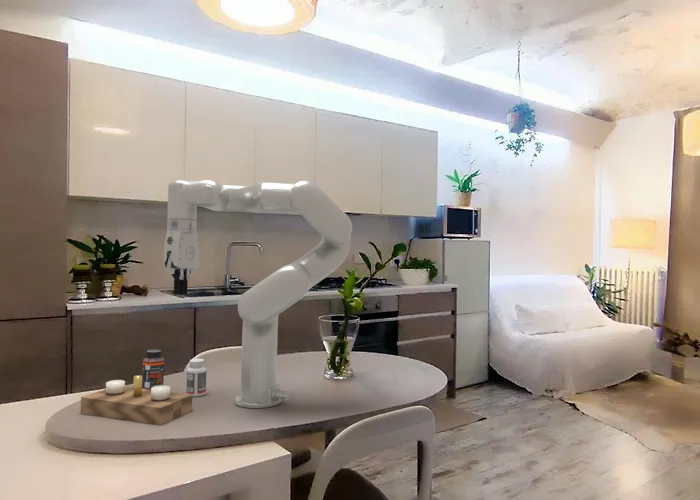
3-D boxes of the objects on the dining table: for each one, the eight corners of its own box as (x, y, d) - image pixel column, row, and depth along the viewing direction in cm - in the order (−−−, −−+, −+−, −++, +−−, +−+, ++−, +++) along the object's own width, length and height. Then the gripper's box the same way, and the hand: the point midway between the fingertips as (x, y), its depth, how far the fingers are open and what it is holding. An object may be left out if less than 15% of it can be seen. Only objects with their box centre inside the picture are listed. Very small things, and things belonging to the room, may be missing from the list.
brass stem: (143, 395, 129) (143, 375, 129) (137, 397, 127) (138, 377, 127) (137, 394, 130) (137, 374, 130) (131, 396, 128) (131, 376, 128)
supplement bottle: (149, 392, 146) (149, 353, 146) (137, 389, 149) (138, 350, 149) (167, 388, 150) (168, 350, 150) (156, 385, 154) (157, 347, 154)
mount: (192, 410, 130) (192, 394, 130) (160, 425, 119) (161, 408, 119) (116, 400, 138) (117, 385, 138) (80, 413, 126) (81, 397, 126)
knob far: (128, 404, 132) (128, 380, 132) (115, 409, 128) (116, 384, 128) (114, 402, 133) (115, 379, 133) (101, 407, 129) (102, 383, 129)
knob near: (173, 411, 127) (173, 386, 127) (161, 416, 123) (162, 390, 123) (158, 409, 129) (159, 384, 129) (146, 414, 125) (147, 388, 125)
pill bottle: (205, 391, 148) (205, 357, 149) (206, 396, 143) (207, 361, 143) (185, 392, 147) (186, 358, 147) (186, 397, 142) (187, 362, 142)
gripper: (175, 225, 130) (174, 297, 129) (209, 228, 144) (208, 293, 144) (151, 225, 132) (150, 295, 132) (187, 228, 146) (185, 292, 146)
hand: (180, 294), depth 138 cm, fingers closed
